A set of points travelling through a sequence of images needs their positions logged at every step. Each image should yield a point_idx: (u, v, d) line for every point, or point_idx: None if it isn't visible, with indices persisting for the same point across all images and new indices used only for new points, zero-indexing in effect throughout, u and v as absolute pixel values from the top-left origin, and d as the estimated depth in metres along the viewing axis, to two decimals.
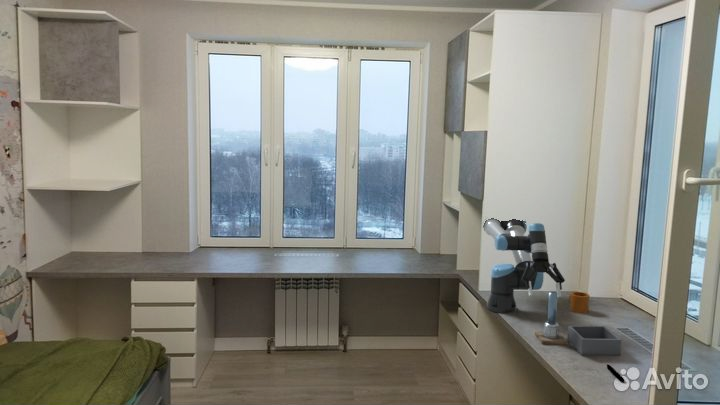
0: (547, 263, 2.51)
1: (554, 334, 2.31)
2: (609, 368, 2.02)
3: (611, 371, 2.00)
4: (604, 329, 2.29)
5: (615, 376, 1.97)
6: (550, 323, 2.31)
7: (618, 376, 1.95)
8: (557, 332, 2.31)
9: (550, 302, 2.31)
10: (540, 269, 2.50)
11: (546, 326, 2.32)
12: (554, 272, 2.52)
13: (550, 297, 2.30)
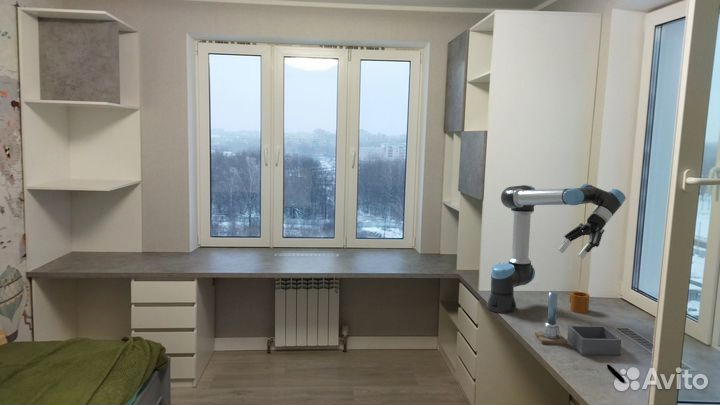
0: None
1: (554, 334, 2.31)
2: (609, 368, 2.02)
3: (611, 371, 2.00)
4: (604, 329, 2.29)
5: (615, 376, 1.97)
6: (550, 323, 2.31)
7: (618, 376, 1.95)
8: (557, 332, 2.31)
9: (550, 302, 2.31)
10: None
11: (546, 326, 2.32)
12: (575, 229, 2.40)
13: (550, 297, 2.30)
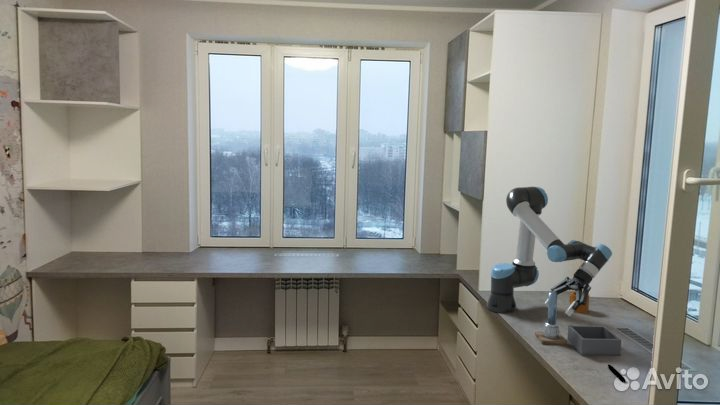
0: None
1: (554, 334, 2.31)
2: (610, 368, 2.02)
3: (612, 371, 2.00)
4: (604, 329, 2.29)
5: (616, 376, 1.97)
6: (550, 323, 2.31)
7: (619, 376, 1.95)
8: (557, 332, 2.31)
9: (550, 302, 2.31)
10: None
11: (546, 326, 2.32)
12: (562, 283, 2.39)
13: (550, 297, 2.30)
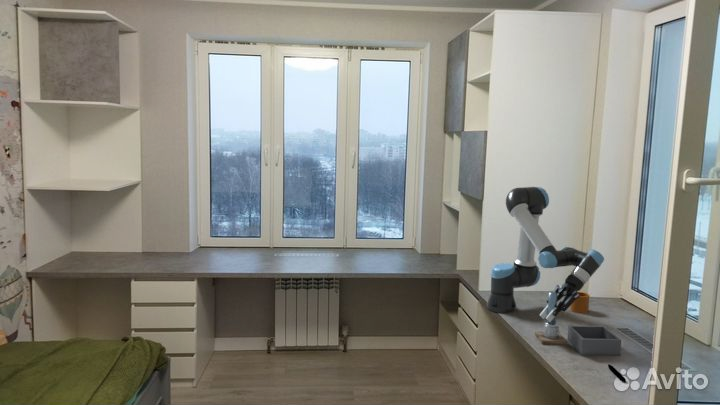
0: None
1: (554, 334, 2.31)
2: (610, 368, 2.02)
3: (612, 371, 2.00)
4: (604, 329, 2.29)
5: (617, 376, 1.97)
6: (550, 323, 2.31)
7: (620, 376, 1.95)
8: (557, 332, 2.31)
9: (550, 302, 2.31)
10: None
11: (546, 326, 2.32)
12: (554, 291, 2.37)
13: (550, 297, 2.30)
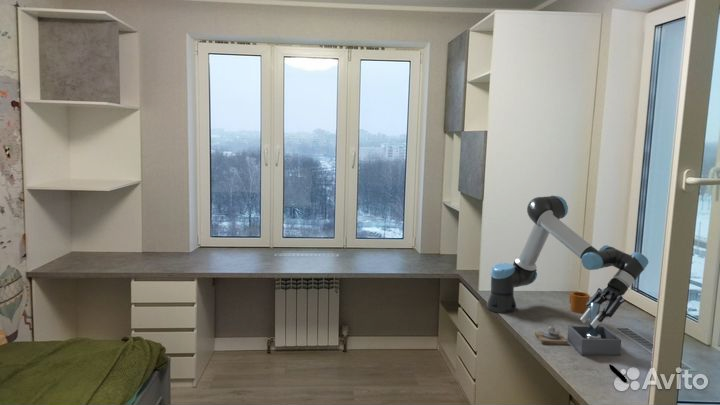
0: None
1: None
2: (612, 368, 2.02)
3: (614, 371, 2.00)
4: (604, 329, 2.29)
5: (618, 376, 1.97)
6: (592, 334, 2.22)
7: (621, 376, 1.95)
8: None
9: (592, 313, 2.21)
10: None
11: (588, 337, 2.23)
12: (596, 295, 2.28)
13: (593, 307, 2.21)
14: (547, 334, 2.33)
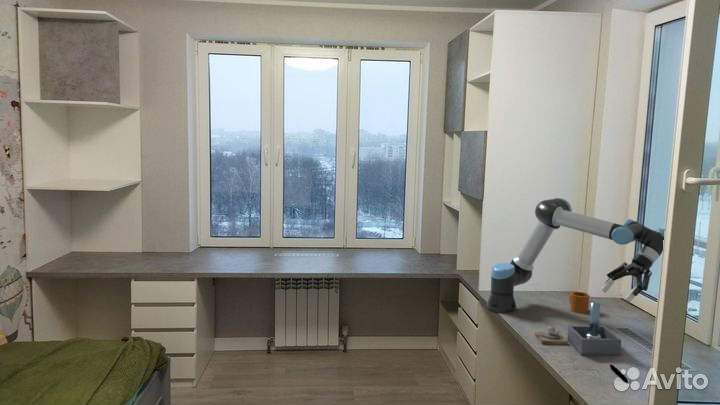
0: None
1: None
2: (612, 368, 2.02)
3: (614, 371, 2.00)
4: (604, 329, 2.29)
5: (619, 376, 1.97)
6: (592, 334, 2.22)
7: (622, 376, 1.95)
8: None
9: (592, 313, 2.21)
10: None
11: (588, 337, 2.23)
12: (619, 268, 2.32)
13: (593, 307, 2.21)
14: (547, 334, 2.33)
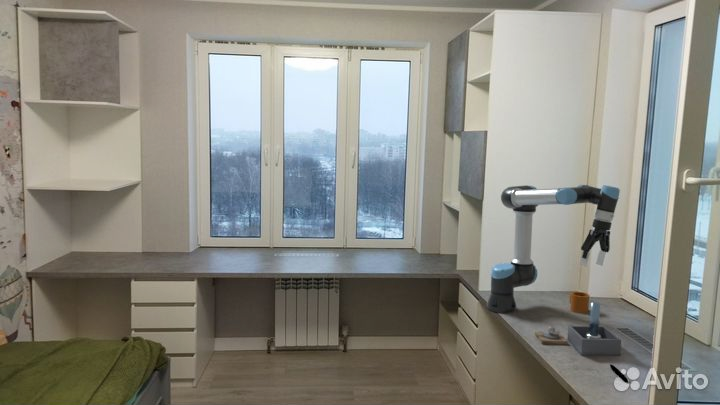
0: (605, 232, 2.36)
1: None
2: (613, 368, 2.02)
3: (615, 371, 2.00)
4: (604, 329, 2.29)
5: (619, 376, 1.97)
6: (592, 334, 2.22)
7: (622, 376, 1.95)
8: None
9: (592, 313, 2.21)
10: (599, 238, 2.34)
11: (588, 337, 2.23)
12: None
13: (593, 307, 2.21)
14: (547, 334, 2.33)
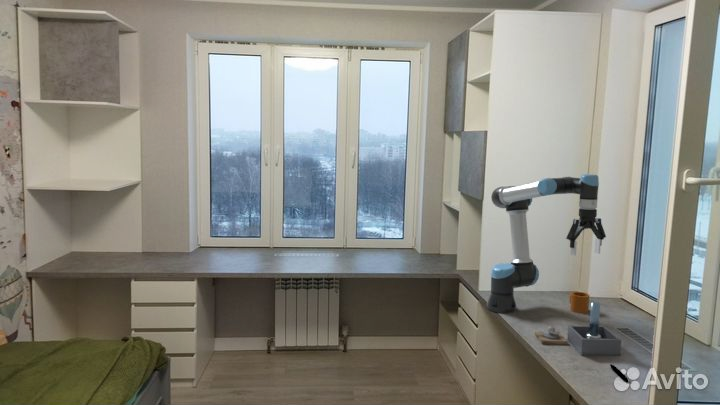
0: (594, 219, 2.38)
1: None
2: (613, 368, 2.02)
3: (615, 371, 2.00)
4: (604, 329, 2.29)
5: (619, 376, 1.97)
6: (592, 334, 2.22)
7: (622, 376, 1.95)
8: None
9: (592, 313, 2.21)
10: (586, 227, 2.38)
11: (588, 337, 2.23)
12: None
13: (593, 307, 2.21)
14: (547, 334, 2.33)
